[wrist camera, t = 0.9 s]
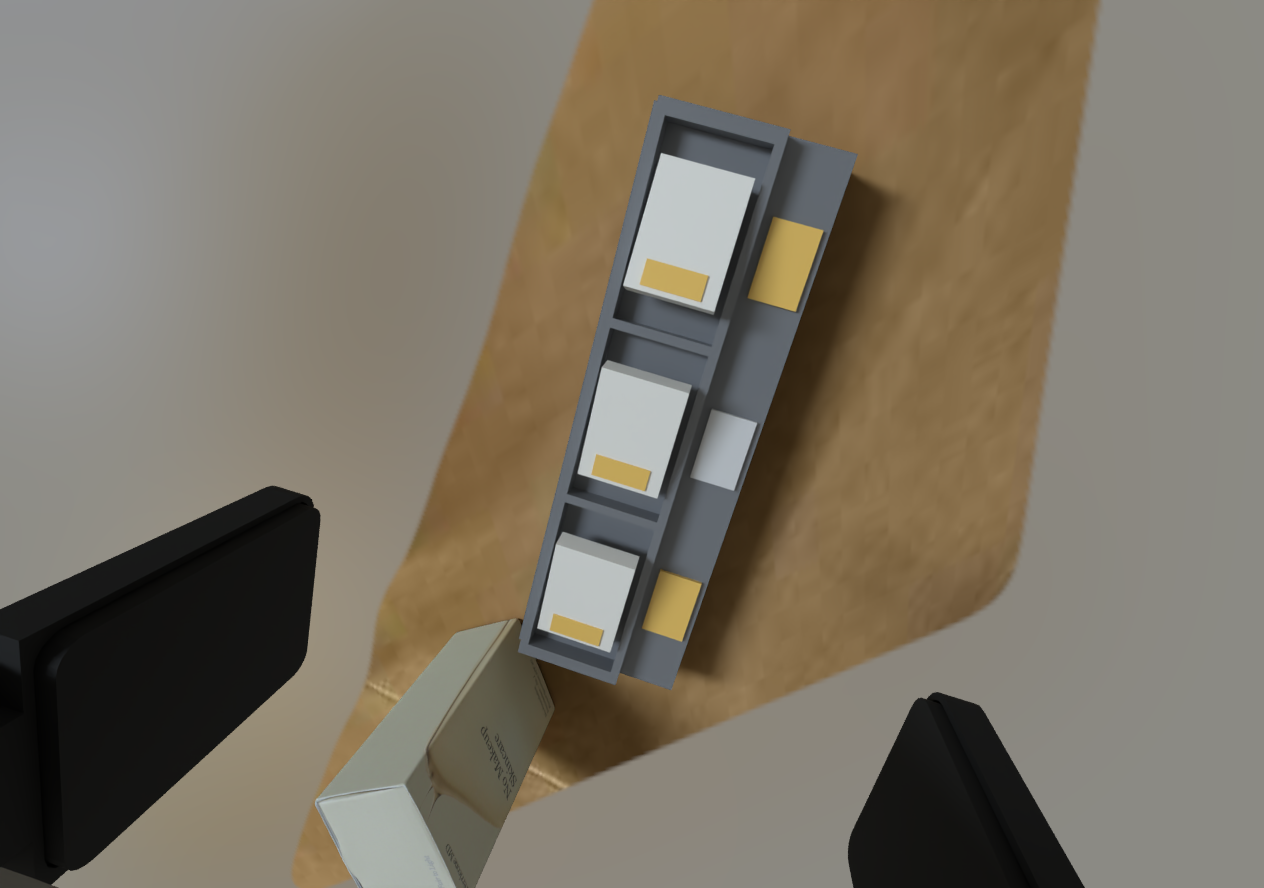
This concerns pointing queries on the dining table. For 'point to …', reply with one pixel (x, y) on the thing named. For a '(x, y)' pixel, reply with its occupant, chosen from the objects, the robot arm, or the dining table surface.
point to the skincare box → (441, 766)
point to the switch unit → (709, 361)
